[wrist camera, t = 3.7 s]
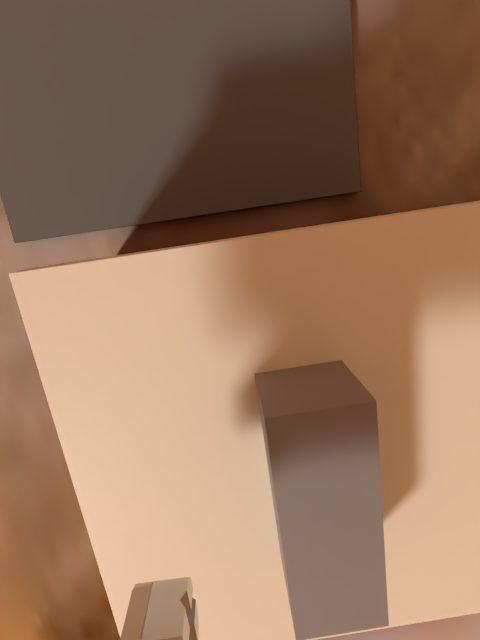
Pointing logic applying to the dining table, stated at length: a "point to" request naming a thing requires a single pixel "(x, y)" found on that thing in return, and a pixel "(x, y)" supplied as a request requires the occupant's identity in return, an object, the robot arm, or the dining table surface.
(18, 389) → the dining table surface
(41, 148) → the mat
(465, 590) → the lid panel
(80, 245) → the dining table surface
